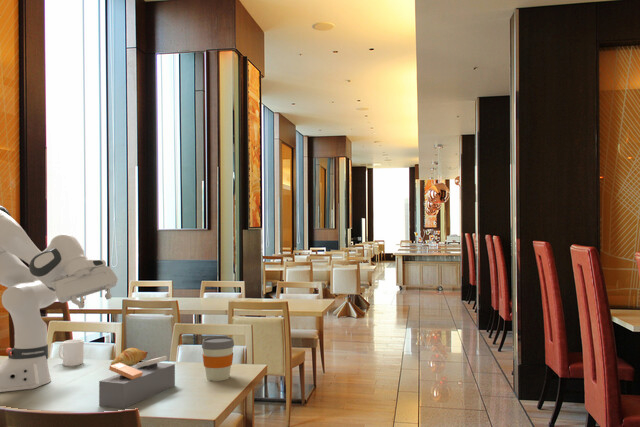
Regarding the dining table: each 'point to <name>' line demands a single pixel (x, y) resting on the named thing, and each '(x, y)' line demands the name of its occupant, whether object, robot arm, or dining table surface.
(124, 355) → the croissant
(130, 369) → the rocker orange
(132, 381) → the block
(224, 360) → the reusable coffee cup
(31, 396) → the dining table surface
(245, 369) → the dining table surface
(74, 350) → the cup
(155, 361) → the rocker grey
